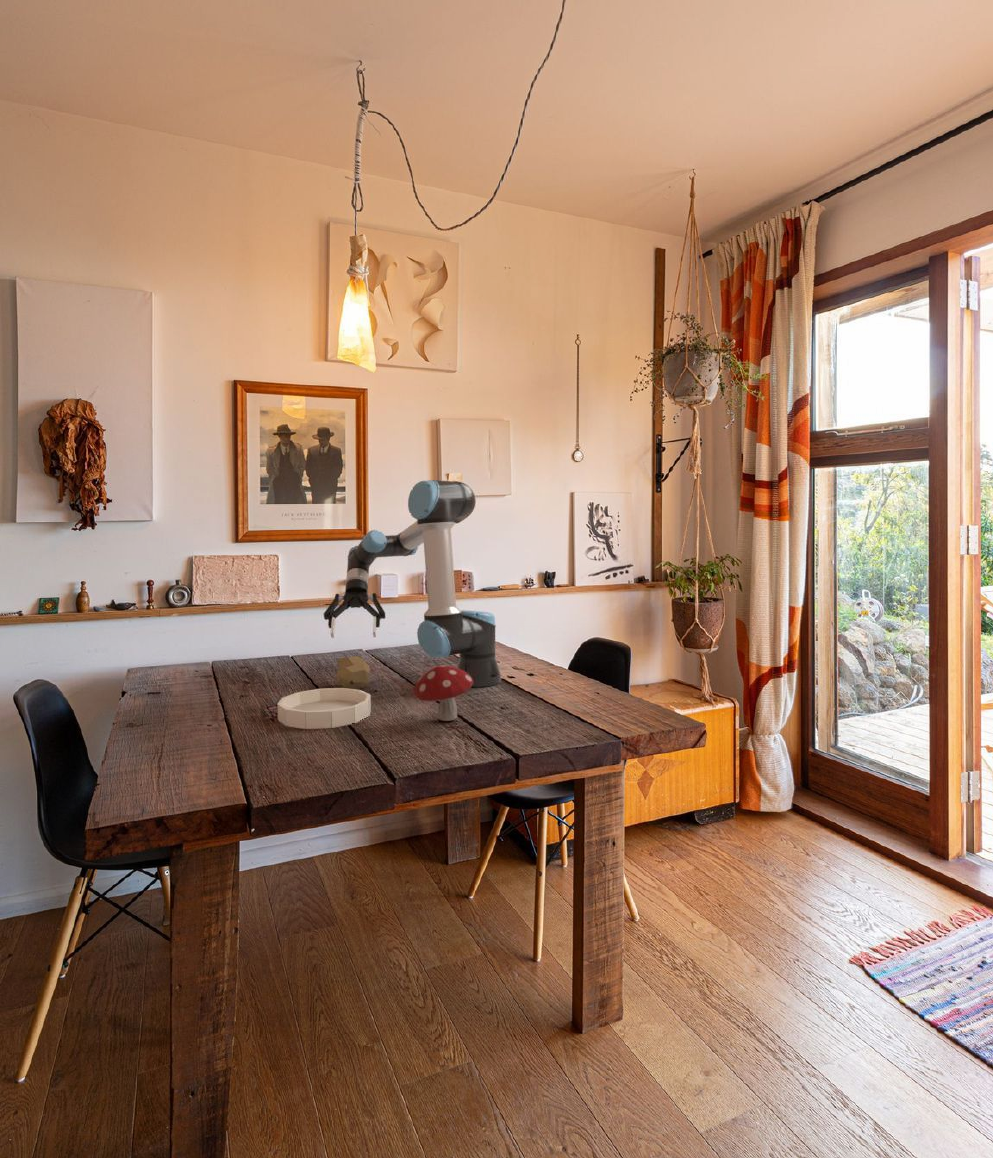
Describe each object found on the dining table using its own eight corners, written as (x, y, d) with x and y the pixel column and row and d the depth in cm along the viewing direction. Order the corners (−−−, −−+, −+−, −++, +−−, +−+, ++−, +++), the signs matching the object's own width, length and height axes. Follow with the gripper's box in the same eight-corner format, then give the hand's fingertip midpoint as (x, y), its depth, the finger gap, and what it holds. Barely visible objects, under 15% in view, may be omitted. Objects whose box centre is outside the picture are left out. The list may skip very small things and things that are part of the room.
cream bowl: (373, 701, 202) (373, 686, 201) (366, 726, 178) (365, 709, 177) (289, 704, 199) (288, 689, 199) (270, 730, 175) (269, 713, 175)
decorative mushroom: (472, 730, 174) (472, 672, 172) (409, 731, 174) (408, 672, 172) (475, 712, 190) (474, 658, 188) (417, 712, 190) (416, 659, 188)
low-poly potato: (354, 682, 227) (323, 670, 221) (371, 654, 225) (340, 641, 219) (364, 705, 214) (331, 693, 208) (382, 676, 212) (349, 663, 207)
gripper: (393, 590, 244) (392, 640, 230) (321, 591, 241) (316, 642, 228) (392, 577, 238) (391, 627, 224) (318, 578, 235) (312, 629, 222)
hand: (353, 635), depth 226 cm, fingers open, 13 cm apart
